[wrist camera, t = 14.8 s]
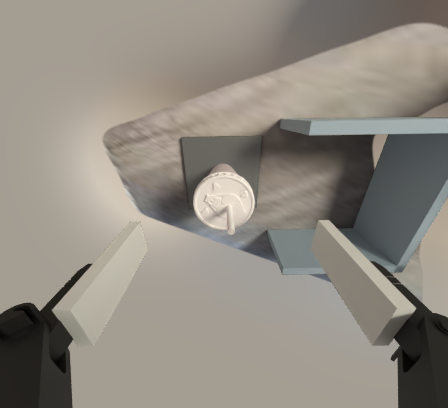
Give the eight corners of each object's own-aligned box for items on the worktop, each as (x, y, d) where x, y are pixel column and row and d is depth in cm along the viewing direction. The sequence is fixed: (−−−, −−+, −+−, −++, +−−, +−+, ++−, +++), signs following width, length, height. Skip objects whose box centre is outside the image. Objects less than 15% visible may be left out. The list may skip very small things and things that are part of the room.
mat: (261, 135, 25) (262, 136, 24) (255, 205, 30) (256, 207, 29) (182, 137, 25) (181, 137, 24) (190, 206, 30) (189, 208, 29)
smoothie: (233, 200, 28) (243, 268, 16) (195, 186, 27) (174, 247, 15) (251, 164, 26) (280, 210, 13) (210, 146, 25) (200, 179, 12)
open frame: (403, 117, 24) (496, 118, 16) (357, 233, 33) (401, 272, 24) (281, 118, 24) (311, 120, 16) (267, 235, 32) (282, 274, 24)
